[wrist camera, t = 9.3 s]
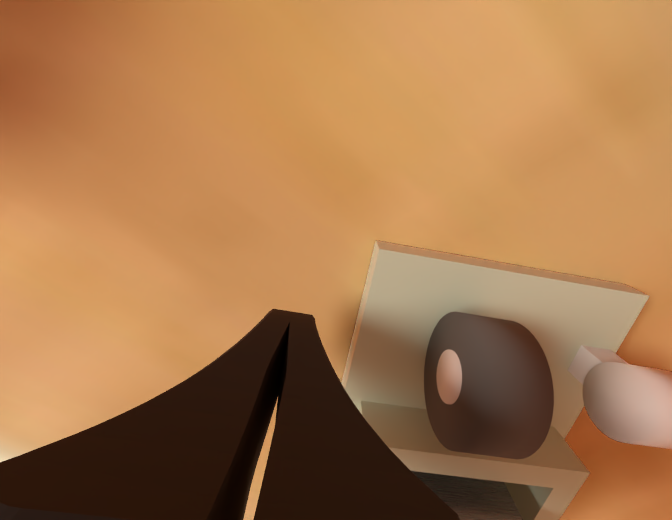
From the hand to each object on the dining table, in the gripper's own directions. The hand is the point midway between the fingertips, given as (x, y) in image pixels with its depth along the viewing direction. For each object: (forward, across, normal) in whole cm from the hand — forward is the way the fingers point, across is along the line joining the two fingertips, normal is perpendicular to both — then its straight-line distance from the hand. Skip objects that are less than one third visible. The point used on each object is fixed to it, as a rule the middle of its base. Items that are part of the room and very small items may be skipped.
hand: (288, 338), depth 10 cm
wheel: (+1, -6, 0) cm, 6 cm away
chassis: (+3, -8, +5) cm, 9 cm away
